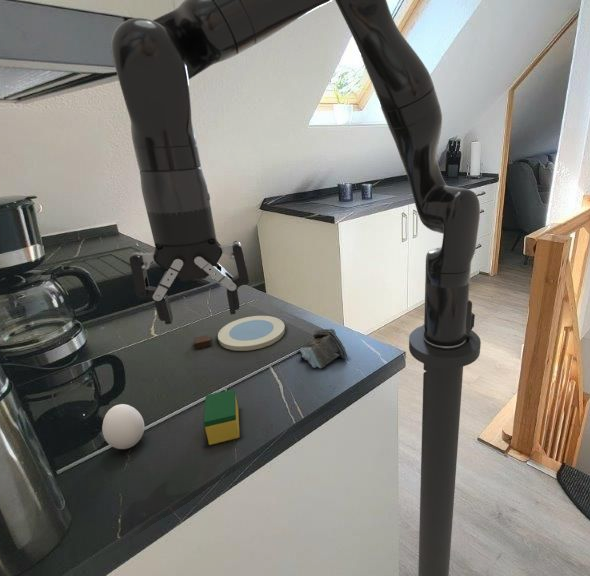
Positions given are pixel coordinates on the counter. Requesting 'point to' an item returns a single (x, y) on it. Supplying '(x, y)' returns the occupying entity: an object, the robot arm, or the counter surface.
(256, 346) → the plate
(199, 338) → the crumb
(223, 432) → the sponge
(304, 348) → the grey jagged block
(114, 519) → the counter surface
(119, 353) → the counter surface
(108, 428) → the egg
